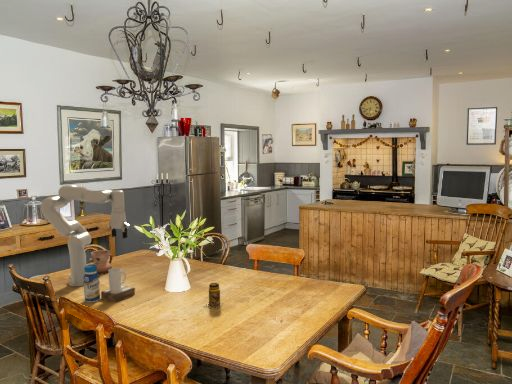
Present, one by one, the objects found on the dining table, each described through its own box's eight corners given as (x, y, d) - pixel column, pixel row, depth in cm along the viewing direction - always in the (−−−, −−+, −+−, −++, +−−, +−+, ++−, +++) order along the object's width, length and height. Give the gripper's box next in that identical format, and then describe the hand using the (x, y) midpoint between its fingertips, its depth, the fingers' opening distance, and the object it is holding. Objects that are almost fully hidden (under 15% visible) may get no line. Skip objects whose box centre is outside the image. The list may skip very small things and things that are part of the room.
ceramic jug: (96, 276, 289) (95, 255, 287) (84, 272, 297) (83, 252, 296) (119, 270, 303) (118, 250, 302) (107, 267, 312) (106, 247, 310)
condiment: (217, 308, 227) (217, 286, 226) (203, 306, 230) (202, 285, 229) (223, 303, 234) (222, 282, 233) (208, 302, 237) (208, 281, 236)
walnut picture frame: (101, 298, 245) (101, 291, 245) (120, 291, 257) (120, 284, 257) (116, 301, 239) (115, 294, 238) (134, 294, 251) (134, 287, 250)
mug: (112, 292, 242) (111, 272, 240) (107, 290, 246) (106, 269, 245) (129, 288, 248) (128, 268, 247) (123, 286, 253) (122, 266, 252)
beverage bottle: (96, 296, 248) (94, 262, 246) (102, 300, 242) (101, 265, 240) (82, 300, 242) (80, 265, 240) (88, 304, 236) (86, 268, 234)
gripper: (104, 210, 267) (105, 237, 269) (123, 211, 258) (124, 239, 260) (113, 208, 273) (114, 235, 275) (132, 210, 265) (133, 237, 266)
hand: (119, 237), depth 268 cm, fingers open, 9 cm apart
